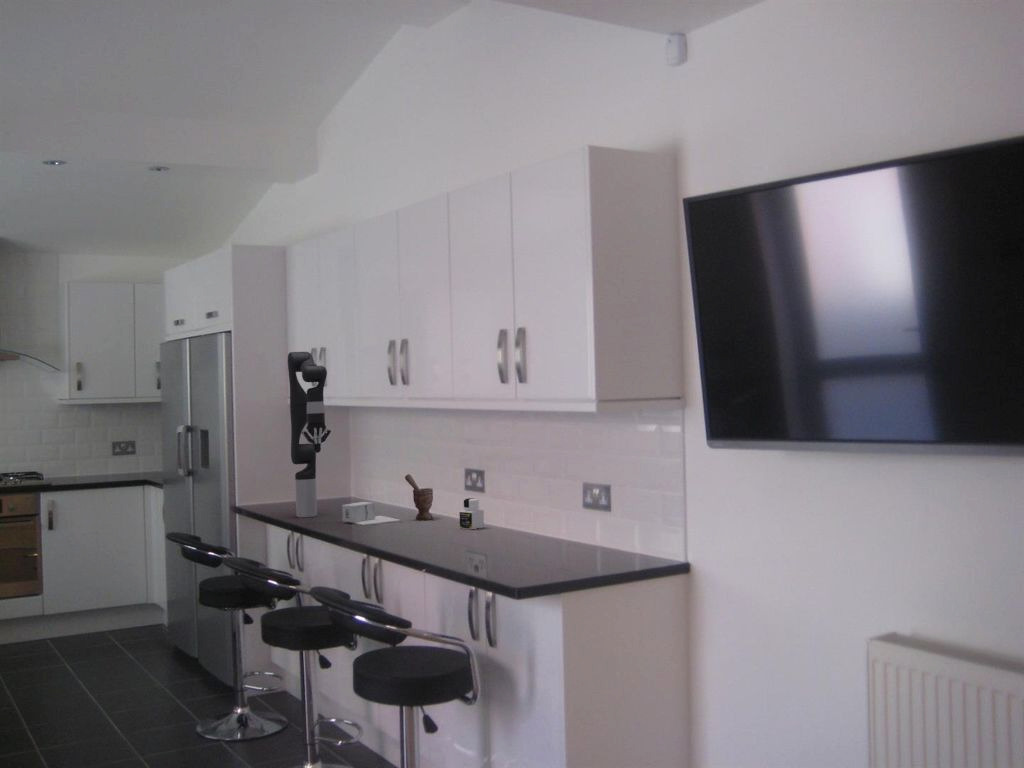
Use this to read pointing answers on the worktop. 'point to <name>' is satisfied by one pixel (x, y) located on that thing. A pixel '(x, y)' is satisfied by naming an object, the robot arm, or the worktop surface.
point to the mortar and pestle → (421, 499)
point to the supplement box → (358, 512)
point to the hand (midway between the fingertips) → (317, 452)
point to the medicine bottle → (471, 515)
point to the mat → (377, 521)
